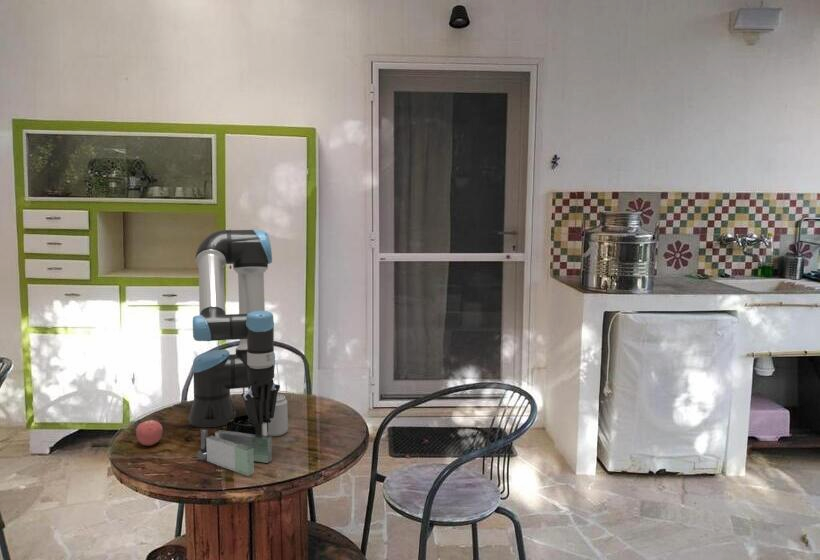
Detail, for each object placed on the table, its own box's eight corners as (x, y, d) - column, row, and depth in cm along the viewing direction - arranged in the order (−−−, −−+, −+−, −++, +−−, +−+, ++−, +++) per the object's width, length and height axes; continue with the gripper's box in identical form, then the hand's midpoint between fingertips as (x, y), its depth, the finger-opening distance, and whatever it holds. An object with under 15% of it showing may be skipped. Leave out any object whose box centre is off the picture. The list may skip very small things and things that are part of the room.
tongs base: (194, 458, 177) (193, 430, 176) (206, 454, 180) (205, 426, 179) (244, 477, 165) (244, 447, 164) (256, 472, 169) (255, 442, 168)
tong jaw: (215, 455, 179) (214, 432, 178) (219, 452, 181) (218, 429, 180) (267, 462, 174) (267, 439, 173) (271, 459, 176) (271, 436, 176)
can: (262, 430, 200) (261, 394, 198) (285, 427, 203) (284, 392, 201) (266, 438, 193) (265, 401, 192) (290, 435, 196) (289, 398, 195)
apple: (150, 438, 192) (150, 413, 191) (168, 442, 189) (167, 417, 188) (130, 446, 185) (129, 420, 185) (148, 450, 182) (147, 424, 181)
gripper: (252, 372, 169) (254, 454, 172) (286, 362, 180) (287, 440, 183) (234, 368, 173) (235, 448, 176) (268, 359, 184) (269, 435, 187)
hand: (262, 444), depth 179 cm, fingers closed
